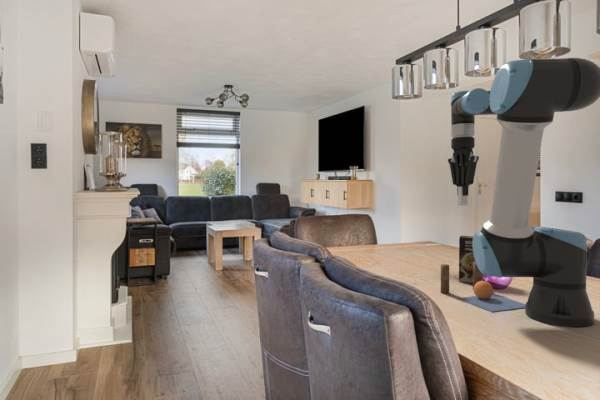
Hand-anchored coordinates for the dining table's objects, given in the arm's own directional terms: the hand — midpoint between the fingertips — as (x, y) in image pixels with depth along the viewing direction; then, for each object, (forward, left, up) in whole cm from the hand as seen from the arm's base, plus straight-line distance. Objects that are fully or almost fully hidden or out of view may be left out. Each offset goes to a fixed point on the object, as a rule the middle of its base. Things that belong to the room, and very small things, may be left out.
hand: (462, 205), depth 141 cm
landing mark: (-22, +7, -28) cm, 36 cm away
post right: (-8, +1, -28) cm, 29 cm away
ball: (-18, +7, -25) cm, 31 cm away
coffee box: (+2, -6, -28) cm, 29 cm away
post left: (-8, +13, -28) cm, 32 cm away
